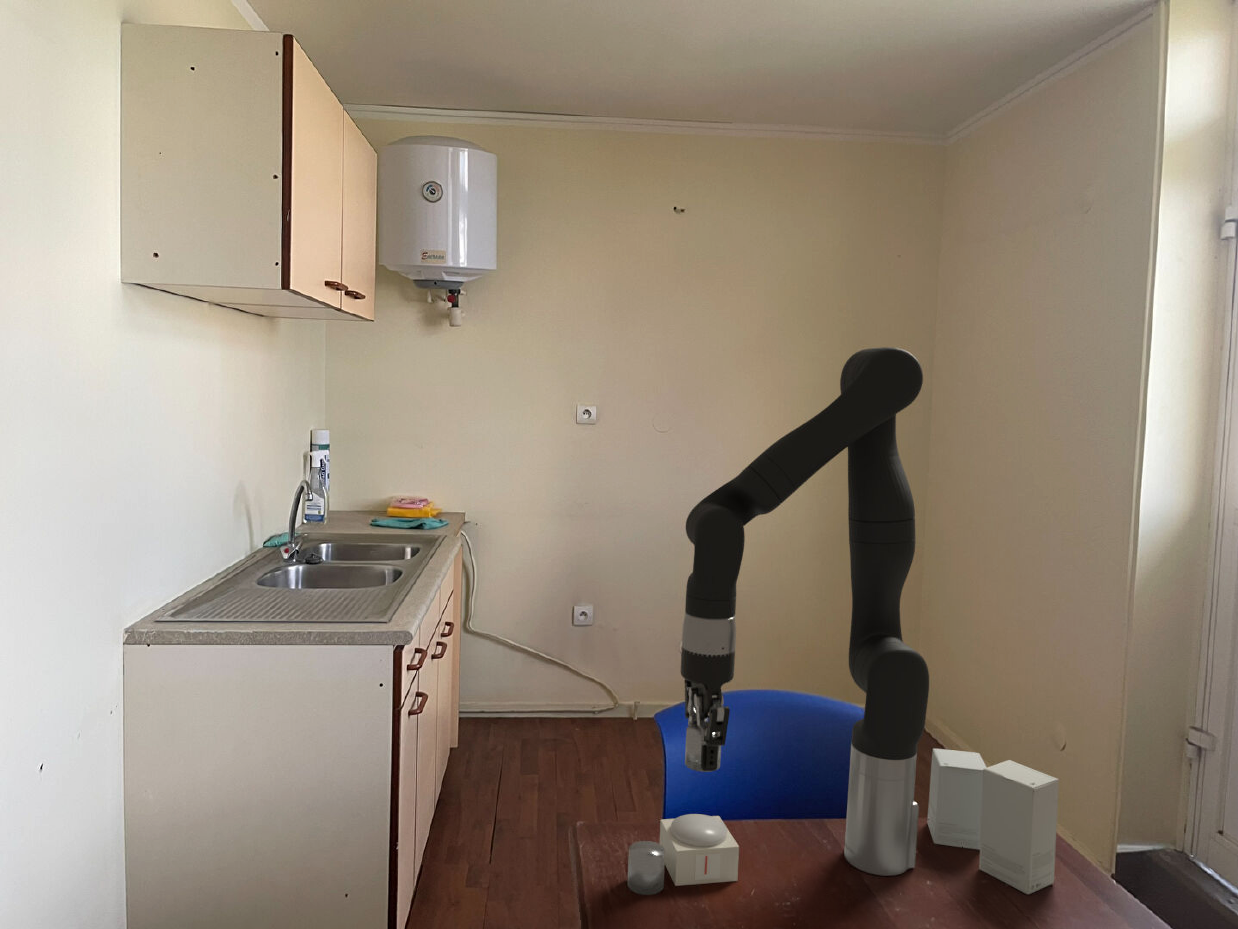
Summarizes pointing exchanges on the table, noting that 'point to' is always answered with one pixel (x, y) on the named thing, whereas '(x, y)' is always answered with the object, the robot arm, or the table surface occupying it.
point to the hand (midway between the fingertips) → (702, 761)
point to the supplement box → (956, 798)
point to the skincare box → (1019, 826)
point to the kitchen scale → (699, 850)
